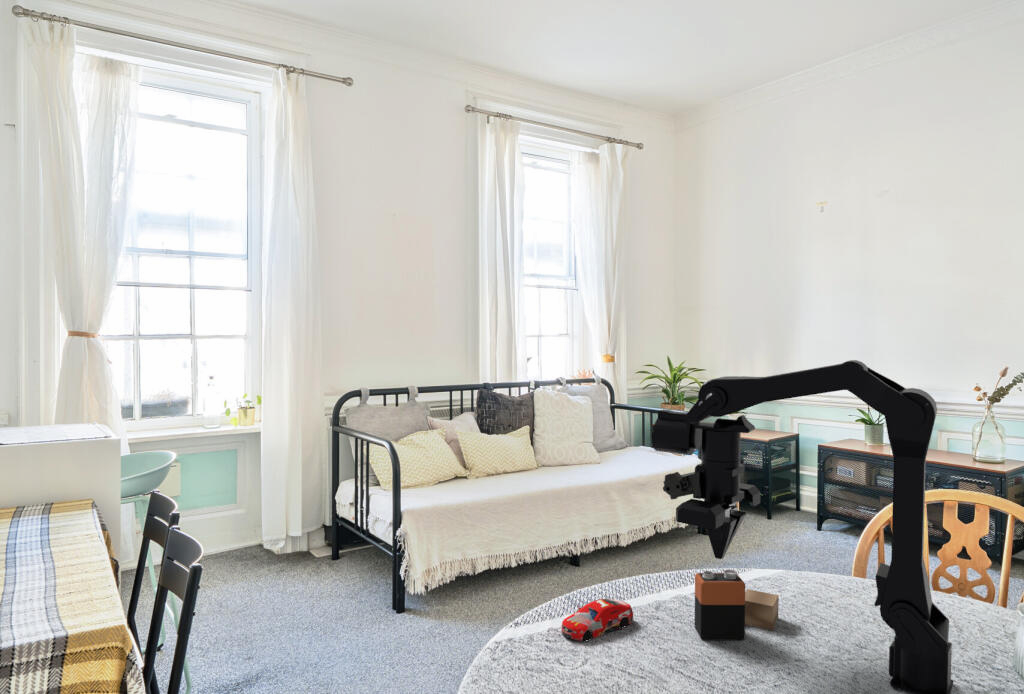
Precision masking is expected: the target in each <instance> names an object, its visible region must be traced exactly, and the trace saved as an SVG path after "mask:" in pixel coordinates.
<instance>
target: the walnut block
mask: <svg viewBox="0 0 1024 694" xmlns="http://www.w3.org/2000/svg"><path fill="white" fill-rule="evenodd" d="M779 597H780V595H778V594H774V593H768V592H766V591H765V592H763V591H759V590H753V589H749V588H746V589H745V625H749V626H751V627H752V626H753V627H757V628H761V629H765V630H770V631H773V630H774V629H775V626H776V624H777V622H778V619H779V604H780V603H779V601H780V600H779Z"/></svg>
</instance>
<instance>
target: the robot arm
mask: <svg viewBox="0 0 1024 694" xmlns="http://www.w3.org/2000/svg"><path fill="white" fill-rule="evenodd" d="M839 391H847V392H849V393H851V394H853V395H854V396H856V397H857V398H858V400H859V399H860V401H862V402H864V403H865V404H866V405H867V406H869V407H870V408H872V409H873V410H875V412H878V413H879V414H880V415H882V416H884V419H885V425H886V430H887V437H888V441H889V446H890V449H891V454H892V457H893V477H892V478H893V480H892V482H893V483H892V518H891V520H892V521H891V523H892V527H891V529H892V530H891V558H890V559H891V560H890V565H889V564H886V563H883V562H880V563H879V566H878V568H877V571H876V574H875V584H876V589H877V595H876V596H875V597H876V598H875V601H874V605H873V606H875V607H878V606H879V612H880V617H881V619H882V621H883V622H885V624H886V625H887V626H888V627H889V628H890V629H891V630H893V632H894V634H895V635H894V638H893V640H892V642H891V643H890V646H889V648H888V651H889V652H888V653H889V654H888V675H889V676H890V678H891V679H890V681H889V686H890V687H892V688H894V689H897V690H899V691H903V692H907V693H909V694H951V692H952V689H953V686H954V680H953V679H952V648H953V645H952V642H950V641H949V634H950V632H949V630H950V618H948V617H947V616H946V615H945V614H944V613H943V612H942V610H940V608H938V606H937V605H936V604H935V603H934V602H933V599H932V591H931V588H930V582H929V576H928V572H927V567H926V564H925V559H924V546H925V545H924V543H925V541H924V538H925V536H924V535H925V530H924V529H925V504H926V503H925V500H926V498H925V497H926V467H927V466H926V464H927V463H926V461H927V455H928V450H929V447H930V442H931V438H932V436H933V435H932V434H933V430H934V426H935V422H936V418H937V413H938V407H937V403H936V401H935V398H933V397H932V396H931V394H929V393H928V392H927V391H925V390H923V389H920V388H915V387H910V388H907V387H905V386H903V385H901V384H900V383H897V382H896V381H894V380H892V379H890V378H888V377H887V376H885V375H883V374H882V373H879V372H877V371H875V370H873V369H871V368H870V367H869V366H867V364H865V363H864V362H862V361H860V360H856V359H852V360H851V359H850V360H847V361H845V362H842V363H837V364H832V365H831V364H830V365H827V366H820V367H814V368H809V369H802V370H798V371H792V372H791V371H790V372H786V373H785V372H784V373H780V374H774V375H769V376H746V375H743V376H734V375H732V376H731V375H730V376H721V377H717V378H712V379H708V380H707V381H705V382H704V383H703V384H702V385H701V387H700V388H699V389H698V395H697V398H698V399H697V400H696V402H695V403H694V404H693V405H692V407H691V408H690V409H689V410H688V412H687V411H686V412H683V411H674V410H671V409H661V410H658V411H657V418H656V420H655V422H654V427H653V431H652V432H651V441H652V442H651V444H652V447H653V449H654V451H655V452H661V453H669V454H678V455H686V456H687V455H688V456H692V455H694V452H695V451H696V450H700V448H701V463H698V464H697V465H695V467H694V471H693V472H688V473H684V474H681V473H680V472H679V471H676V472H672V473H671V472H670V473H668V474H665V475H664V481H663V486H662V490H663V492H664V493H666V494H667V495H668V496H669V497H670V500H672V501H673V500H676V499H678V498H681V497H686V496H690V495H692V498H690V499H687V500H686V501H683V502H681V503H680V504H679V505H678V506H677V507H676V508H675V521H676V523H681V524H685V525H691V526H695V527H700V528H705V530H706V533H707V536H708V539H709V542H710V545H711V548H712V549H711V550H712V552H713V555H714V558H715V559H719V560H721V559H724V557H725V556H726V553H727V552H728V550H729V548H730V546H731V544H732V541H733V540H734V537H735V535H736V534H737V532H738V531H739V528H740V527H741V524H742V522H743V521H744V518H745V517H746V516H747V512H746V511H743V510H739V509H738V508H739V506H738V505H736V504H738V503H740V502H741V501H743V502H744V501H745V502H748V503H749V505H750V506H751V507H756V506H758V505H759V504H761V490H759V488H758V487H757V486H756V485H754V484H750V483H749V484H748V483H741V474H742V473H744V472H745V471H746V469H745V468H746V466H745V464H742V463H741V433H743V434H748V433H750V432H752V431H754V430H755V429H756V426H755V425H754V424H753V423H752V422H750V421H749V420H748V419H747V417H746V415H744V414H742V415H740V416H738V417H737V418H736V419H732V418H731V419H729V418H721V417H724V416H727V415H731V414H734V413H737V412H740V411H742V410H745V409H748V408H751V407H754V406H756V405H760V404H763V403H769V402H774V401H780V400H786V399H793V398H794V399H795V398H799V397H800V398H801V397H805V396H814V395H821V394H827V393H833V392H839ZM709 418H717V419H715V421H714V422H713V423H711V422H702V421H705V420H708V419H709ZM701 499H702V500H701Z"/></svg>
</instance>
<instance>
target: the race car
mask: <svg viewBox="0 0 1024 694" xmlns="http://www.w3.org/2000/svg"><path fill="white" fill-rule="evenodd" d="M577 609H578V610H577V611H576V612H574V613H572V614H571V615H569V616H566V618H564V619H563V620H562V622H561V634H562V635H563V636H565V637H566V638H568V639H570V640H574V641H580V642H584V641H586V640H588V641H590V640H589V639H591V640H592V638H593V639H595V638H597V637H599V636H602V635H605V634H607V633H611V632H613V631H615V630H618V629H623V628H625V627H624V626H627V627H628V625H630V624H632V622H633V621H634V612H633V608H632V606H631V604H629V603H627V602H625V601H623V600H621V599H617V598H615V599H613V598H600V599H596V600H592V601H591V602H590V601H589V603H587V604H585V605H583V606H582V607H580V606H579V607H577ZM622 627H623V628H622ZM582 640H583V641H582ZM586 642H587V641H586Z"/></svg>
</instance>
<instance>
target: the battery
mask: <svg viewBox="0 0 1024 694" xmlns="http://www.w3.org/2000/svg"><path fill="white" fill-rule="evenodd" d="M745 592H746V583H745V581H744V580H743V579H742V578H741V577H740V576H739V573H738V572H737V571H736V570H734V569H724V570H723V571H722V572H713V571H711V570H704V571H703V572H697V573H695V574H694V629H695V630H696V632H697V634H698V636H699V638H700V639H701V640H702V641H743V640H745V638H746V637H745V636H746V624H745Z"/></svg>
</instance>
